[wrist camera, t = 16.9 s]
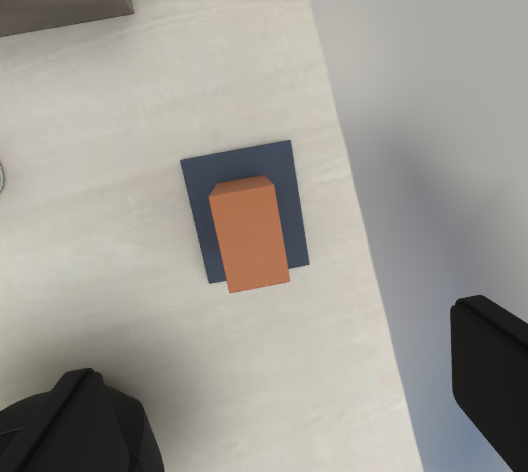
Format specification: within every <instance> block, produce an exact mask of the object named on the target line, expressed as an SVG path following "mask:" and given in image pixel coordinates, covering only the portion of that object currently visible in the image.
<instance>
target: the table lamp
mask: <svg viewBox="0 0 528 472" xmlns="http://www.w3.org/2000/svg"><path fill="white" fill-rule="evenodd" d="M105 387H106V389H107V392H108V395H109V398H110V401H111V404H112V406H113V409H114V412H115V415H116V418H117V421H118V424H119V426H120V429H121V432H122V435H123V438H124V441H125V443H126V446H127V449H128V453H129V466H128V470H127V472H165V471H164V465H163V461H162V457H161V453H160V450H159V448H158V445H157V442H156V440H155V437H154V434H153V432H152V429H151V426H150V424H149V421H148V418H147V416H146V413H145V410H144V408H143V405H142V404H141V402H140V401H138V400H137V399H135V398H133V397H130V396H128V395H126V394H124V393H122V392H119V391H117V390H115V389H113V388H111V387H108V386H106V385H105ZM50 392H51V391H49V392H45V393H41V394H37V395H33V396H31V397H28V398H25V399H23V400H21V401H18V402H16V403H14V404H12V405H10V406H8V407H7V408H5V409H3V410H1V411H0V456H1V455H2V454H3V452H4V451H5V450H6V448H7V447H8V446H9V445H10V443H11V442H12V441H13V439H14V438H15V437H16V435H17V434H18V433H19V432H20V430H21V429H22V428H23V426H24V425H25V424H26V423H27V421H28V420H29V419H30V417H31V416H32V415H33V414H34V412H35V411H36V410H37V408H38V407H39V406H40V404H41V403H42V402H43V401H44V399H45V398H46V397H47V395H48V394H49V393H50Z"/></svg>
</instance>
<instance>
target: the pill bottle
mask: <svg viewBox="0 0 528 472" xmlns="http://www.w3.org/2000/svg"><path fill="white" fill-rule="evenodd" d="M2 186H3V173H2V169H1V166H0V191H1V189H2Z"/></svg>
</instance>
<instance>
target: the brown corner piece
mask: <svg viewBox="0 0 528 472" xmlns="http://www.w3.org/2000/svg"><path fill="white" fill-rule="evenodd" d="M129 14H134V10H133V6H132V2H131V0H0V37H2V36H7V35H13V34H19V33H25V32H31V31H36V30H42V29H48V28H54V27H60V26H65V25H71V24H77V23H83V22H89V21H94V20H100V19H106V18H112V17H118V16H123V15H129Z"/></svg>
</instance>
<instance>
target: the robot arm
mask: <svg viewBox="0 0 528 472" xmlns="http://www.w3.org/2000/svg"><path fill="white" fill-rule="evenodd" d="M450 317H451V318H450V320H451V355H452V388H453V394H454V398H455V400H456V402H457V404H458V405H459V406H460V408H461V409H462V410H463V411H464V412H465V414H466V415H467V416H468V417H469V419H470V420H471V421H472V422H473V423H474V425H475V426H476V427H477V428H478V429H479V431H480V432H481V433H482V434H483V436H484V437H485V438H486V439H487V440H488V442H489V443H490V444H491V445H492V446H493V448H494V449H495V450H496V451H497V452H498V454H499V455H500V456H501V457H502V459H503V460H504V461H505V462H506V463H507V465H508V466H509V467H510V468H511V469H512V471H513V472H528V324H527V323H526V322H524V321H523V320H521V319H520V318H518V317H516V316H515V315H513V314H512V313H510V312H509V311H507V310H505V309H504V308H502V307H500V306H499V305H497V304H496V303H494V302H493V301H491V300H490V299H488V298H486V297H485V296H482V295H476V296H471V297H466V298H460V299H458V300H457V301H456V303H455V305H454V306H452V307H451V310H450ZM128 466H129V453H128V449H127V446H126V443H125V441H124V438H123V435H122V432H121V429H120V426H119V424H118V421H117V418H116V415H115V412H114V409H113V406H112V404H111V401H110V398H109V395H108V392H107V389H106V387H105V384H104V381H103V378H102V376H101V374H100V373H99V372H95V371H94V370H93V369H92V368H85V369H80V370H74V371H69V372H66V373H65V374H64V375H63V376H62V377H61V379H60V380H59V381H58V382H57V384H56V385H55V386H54V388H53V389H52V390H51V392H50V393H49V394H48V395H47V397H46V398H45V399H44V401H43V402H42V403H41V404H40V406H39V407H38V408H37V410H36V411H35V412H34V414H33V415H32V416H31V417H30V419H29V420H28V421H27V423H26V424H25V425H24V426H23V428H22V429H21V430H20V432H19V433H18V434H17V435H16V437H15V438H14V439H13V441H12V442H11V443H10V445H9V446H8V447H7V448H6V450H5V451H4V452H3V454H2V455H1V456H0V472H127V470H128Z"/></svg>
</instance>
